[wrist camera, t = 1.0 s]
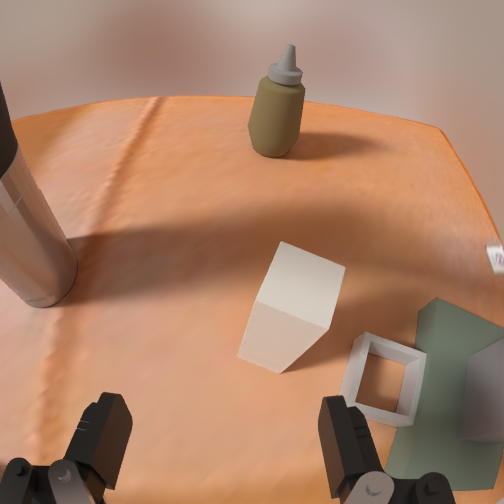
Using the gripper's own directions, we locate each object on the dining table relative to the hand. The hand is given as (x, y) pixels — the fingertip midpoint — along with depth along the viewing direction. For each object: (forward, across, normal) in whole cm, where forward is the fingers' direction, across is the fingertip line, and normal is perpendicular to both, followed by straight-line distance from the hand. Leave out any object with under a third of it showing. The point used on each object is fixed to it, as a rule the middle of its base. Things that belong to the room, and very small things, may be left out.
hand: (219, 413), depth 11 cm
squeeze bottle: (+43, -5, -7) cm, 44 cm away
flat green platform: (+11, -22, +17) cm, 30 cm away
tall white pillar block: (+17, -3, +10) cm, 20 cm away
